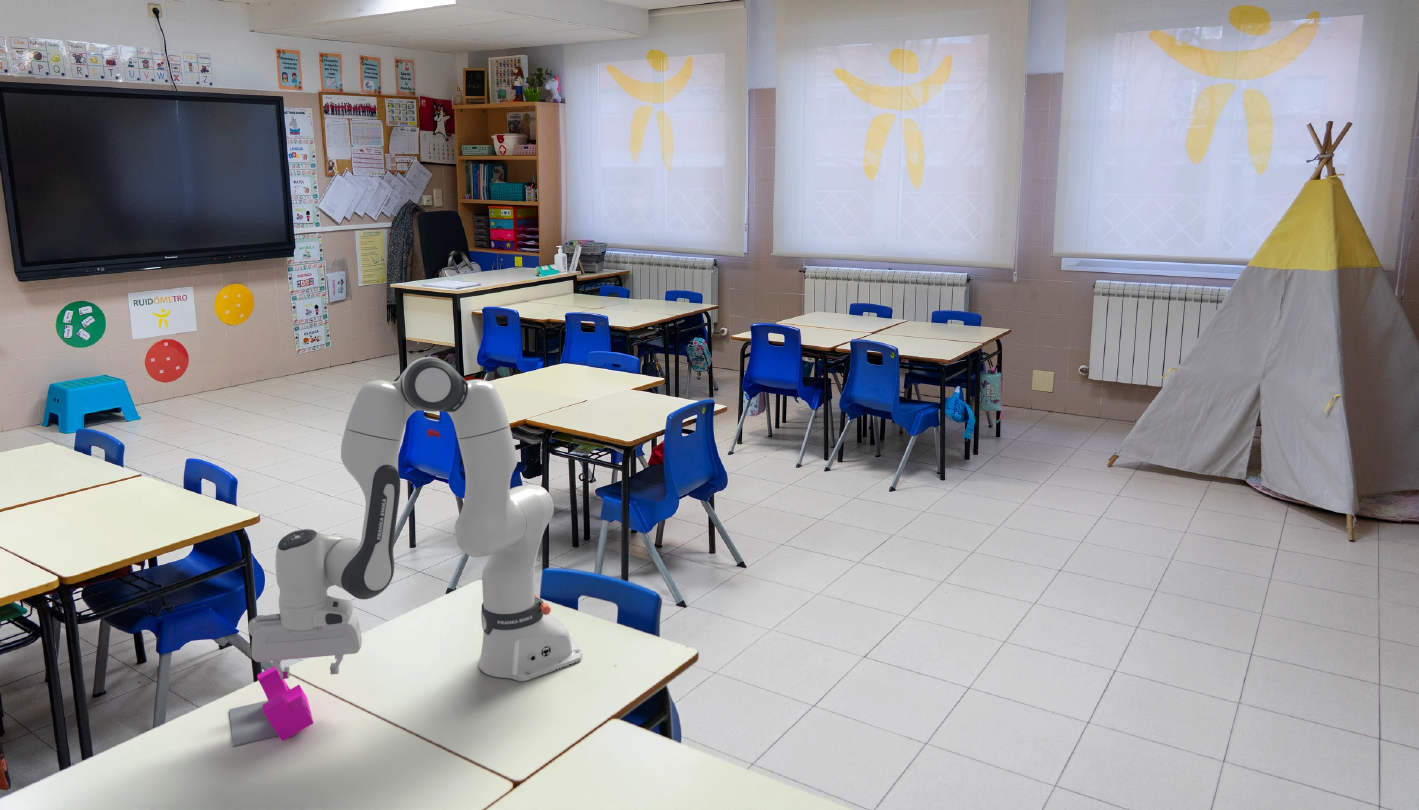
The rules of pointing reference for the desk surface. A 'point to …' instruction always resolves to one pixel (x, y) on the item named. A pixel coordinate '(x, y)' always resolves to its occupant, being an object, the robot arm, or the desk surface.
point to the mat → (250, 724)
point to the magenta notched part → (284, 704)
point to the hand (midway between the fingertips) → (310, 675)
